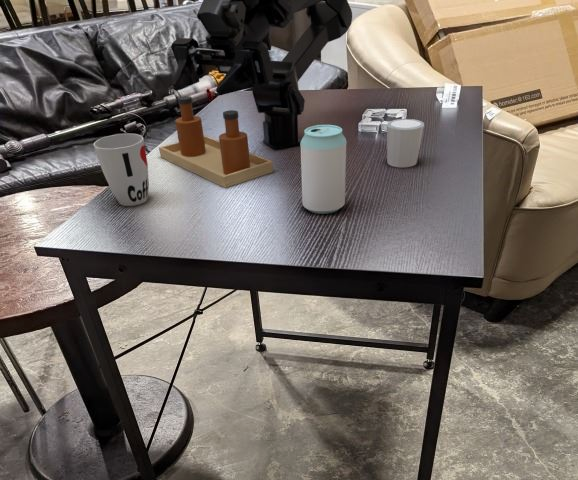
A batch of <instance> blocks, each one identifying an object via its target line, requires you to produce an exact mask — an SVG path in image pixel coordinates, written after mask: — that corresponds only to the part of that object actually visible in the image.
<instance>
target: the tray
mask: <svg viewBox="0 0 578 480" xmlns="http://www.w3.org/2000/svg"><path fill="white" fill-rule="evenodd" d="M203 135H204V142H205V149H206V152H205V153H204V154H202V155H200V156H195V157H186V156H182V155H181V151H180V145H179V141H177V142H173V143H169V144H166V145H163V146H159V147H158V150H159V156H160V158H162V159H164V160H166V161H167V162H170V163H172V164H174V165H175V166H178V167H180V168H182V169H185V170H187V171H188V172H191V173H193V174H195V175H197V176H199V177H201V178H203V179H206V180H208V181H210V182H212V183H214V184H216V185H218V186H220V187H222V188H225V189H227V188H229V187H232V186H236V185H238V184H242V183H246V182H247V181H251V180H253V179H257V178H259V177H262V176H265V175H269V174H271V173H274V161H273V160H271V159H268V158H265V157H263V156H260V155H257V154H255V153H252V152H250V151H249V160H250V168H247V169H243V170H240V171H237V172H234V173H231V174H228V175H225V174H224V173H223V165H222V158H221V150H220V142H219V139H217V138H213V137H210V136H208V135H206V134H203Z"/></svg>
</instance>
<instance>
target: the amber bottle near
mask: <svg viewBox="0 0 578 480" xmlns="http://www.w3.org/2000/svg"><path fill="white" fill-rule="evenodd" d="M222 118H223V120H224V126H225V132H223V133H221V134H219V136H218V140H219V142H220V150H221V158H222V165H223V173H224V174H225V175H228V174H231V173H234V172H237V171H240V170H243V169H247V168H250V160H249V152H250V151H249V141H248V134H247V133H246V132H245V131H240V126H239V111H238V110H234V109H233V110H232V109H229V110H226V111H223V112H222Z"/></svg>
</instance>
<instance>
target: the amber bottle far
mask: <svg viewBox="0 0 578 480" xmlns="http://www.w3.org/2000/svg"><path fill="white" fill-rule="evenodd" d="M177 102H178V105H179V109H180V116H179V117H177V118H176V119H175V120H174V122H175V128H176V133H177V139H178V142H179V145H180V151H181V155H182V156H186V157H195V156H200V155H202V154H204V153H205V152H206V149H205V142H204V135H205V134H204V130H203V123H202V117H201V116H199V115H194V110H193V109H194V108H193V98H192V96H191V95H183V96H178V98H177Z"/></svg>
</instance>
